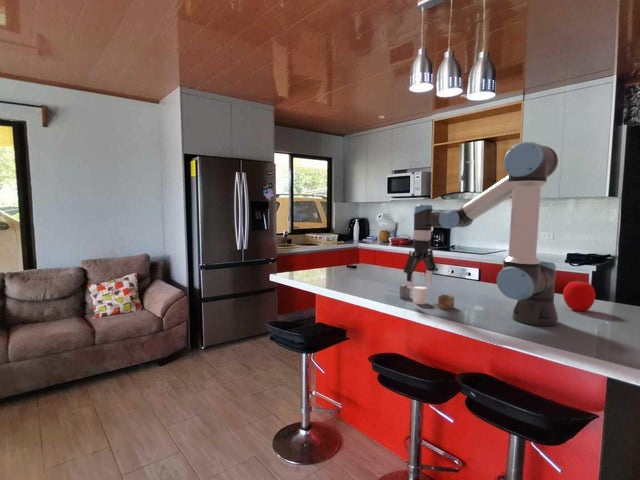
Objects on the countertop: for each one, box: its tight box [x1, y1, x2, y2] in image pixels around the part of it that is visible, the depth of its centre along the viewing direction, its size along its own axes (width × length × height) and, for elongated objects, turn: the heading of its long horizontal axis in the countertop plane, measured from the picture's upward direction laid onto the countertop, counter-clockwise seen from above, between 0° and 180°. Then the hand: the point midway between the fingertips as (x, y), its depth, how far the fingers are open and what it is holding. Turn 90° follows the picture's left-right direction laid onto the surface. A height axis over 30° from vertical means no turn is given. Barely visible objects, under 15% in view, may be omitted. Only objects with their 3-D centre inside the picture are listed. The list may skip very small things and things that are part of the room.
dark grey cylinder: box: [398, 283, 411, 300], centre depth 176 cm, size 5×5×6 cm
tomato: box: [562, 280, 597, 312], centre depth 157 cm, size 11×11×13 cm
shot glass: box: [411, 285, 429, 305], centre depth 167 cm, size 7×7×7 cm
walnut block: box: [437, 294, 455, 311], centre depth 159 cm, size 5×5×5 cm
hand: (419, 286), depth 167 cm, fingers open, 13 cm apart
